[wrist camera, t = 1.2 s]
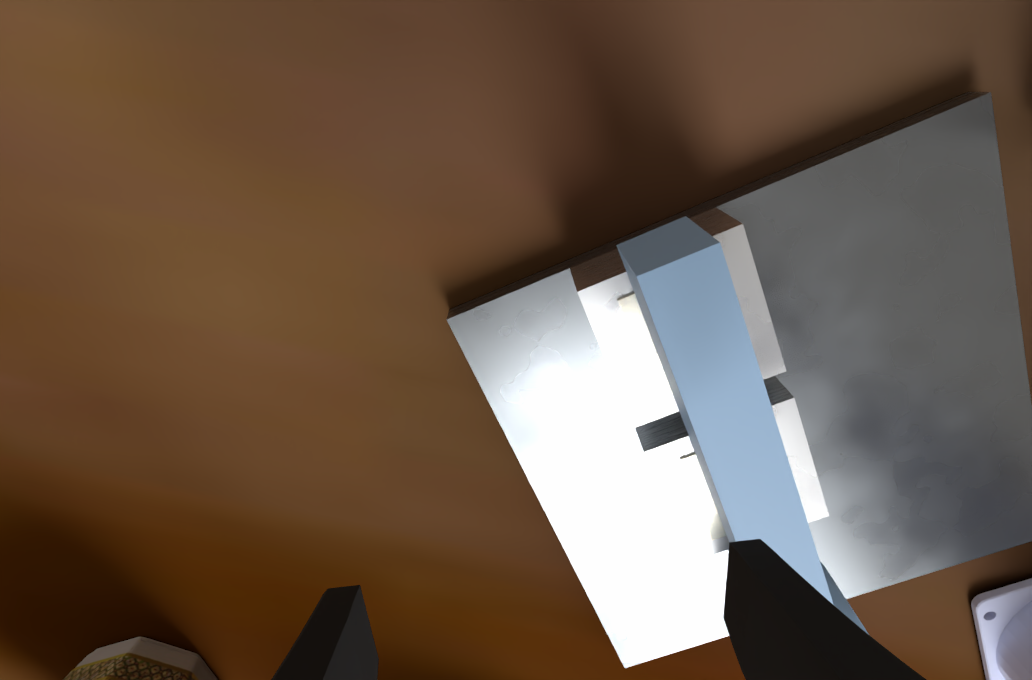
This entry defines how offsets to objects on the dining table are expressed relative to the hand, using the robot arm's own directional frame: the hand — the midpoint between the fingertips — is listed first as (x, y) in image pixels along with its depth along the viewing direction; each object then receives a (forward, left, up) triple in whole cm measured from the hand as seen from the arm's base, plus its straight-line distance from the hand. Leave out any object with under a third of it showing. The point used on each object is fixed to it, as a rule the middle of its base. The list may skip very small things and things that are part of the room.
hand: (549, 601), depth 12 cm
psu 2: (0, -5, -12) cm, 13 cm away
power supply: (-6, -5, -12) cm, 14 cm away
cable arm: (-4, -5, -8) cm, 10 cm away
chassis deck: (-6, -7, -12) cm, 15 cm away
